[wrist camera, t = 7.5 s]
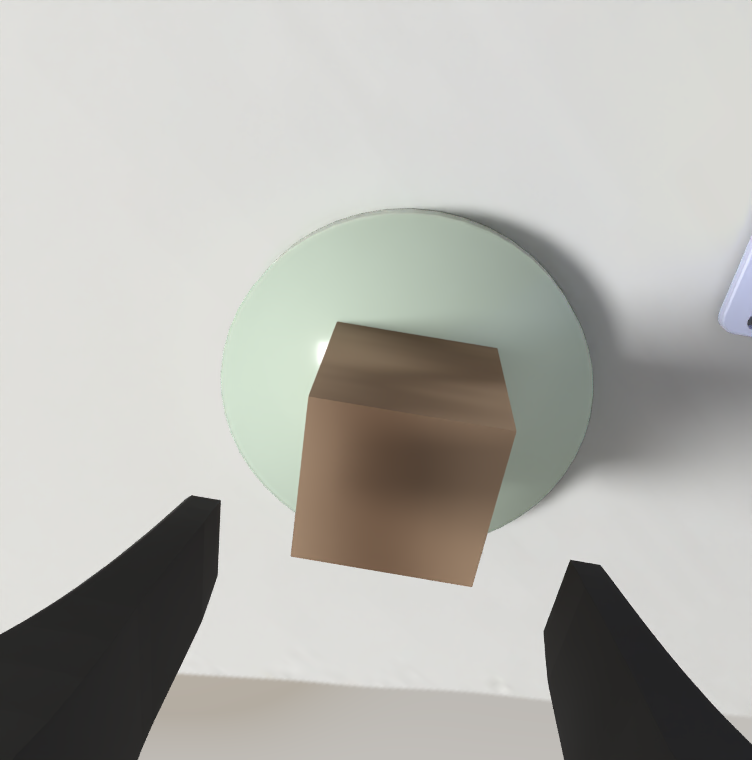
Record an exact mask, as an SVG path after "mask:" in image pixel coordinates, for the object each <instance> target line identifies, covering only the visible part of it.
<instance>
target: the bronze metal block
mask: <svg viewBox="0 0 752 760" xmlns="http://www.w3.org/2000/svg"><path fill="white" fill-rule="evenodd" d="M516 432H517V431H516V426H515V422H514V418H513V413H512V409H511V405H510V400H509V396H508V392H507V387H506V383H505V379H504V374H503V370H502V366H501V361H500V357H499V353H498V348H494V347H488V346H482V345H476V344H470V343H464V342H458V341H452V340H446V339H440V338H434V337H428V336H422V335H416V334H409V333H403V332H397V331H391V330H385V329H379V328H373V327H367V326H361V325H355V324H349V323H343V322H337V323H336V325H335V328H334V330H333V333H332V336H331V338H330V341H329V344H328V346H327V349H326V351H325V354H324V357H323V359H322V362H321V364H320V367H319V370H318V372H317V375H316V378H315V380H314V383H313V385H312V388H311V391H310V393H309V396H308V403H307V412H306V422H305V431H304V440H303V449H302V458H301V467H300V476H299V486H298V495H297V504H296V513H295V522H294V531H293V540H292V549H291V557H297V558H303V559H309V560H315V561H321V562H327V563H333V564H339V565H345V566H351V567H356V568H362V569H368V570H374V571H380V572H386V573H392V574H398V575H404V576H410V577H415V578H421V579H427V580H433V581H439V582H445V583H451V584H457V585H463V586H469V587H472V585H473V582H474V578H475V575H476V571H477V568H478V564H479V561H480V557H481V554H482V550H483V547H484V543H485V540H486V536H487V533H488V529H489V526H490V522H491V519H492V515H493V512H494V508H495V505H496V501H497V498H498V494H499V491H500V487H501V484H502V481H503V477H504V474H505V470H506V467H507V463H508V460H509V456H510V453H511V449H512V446H513V442H514V439H515V435H516Z"/></svg>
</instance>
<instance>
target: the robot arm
mask: <svg viewBox="0 0 752 760" xmlns="http://www.w3.org/2000/svg"><path fill="white" fill-rule="evenodd" d="M751 316H752V236H751V238H750V241H749V243H748V245H747V248H746V250H745V252H744V255H743V257H742V260H741V262H740V264H739V267H738V269H737V271H736V274H735V276H734V278H733V281H732V283H731V285H730V288H729V290H728V293H727V295H726V297H725V300H724V302H723V304H722V307H721V309H720V311H719V315H718V321H719V324H720V325H721V326H722V327H723V328H724V329H725V330H726V331H727V332H730V333H732V334H737V335H743V336H749V337H752V325H747V323H748V320H749V318H750V317H751ZM220 506H221V500H216V499H210V498H204V497H198V496H192V495H191V496H190V497H188V498H187V499H185V500H184V501H183V502H182V503H181V504H180V505H179V506H177V507H176V508H175V509H174V510H173V511H172V512H171V513H170V514H168V515H167V516H166V517H165V518H164V519H163V520H162V521H161V522H159V523H158V524H157V525H156V526H155V527H154V528H152V529H151V530H150V531H149V532H148V533H147V534H145V535H144V536H143V537H142V538H141V539H139V540H138V541H137V542H136V543H134V544H133V545H132V546H131V547H129V548H128V549H127V550H126V551H124V552H123V553H122V554H121V555H119V556H118V557H117V558H116V559H114V560H113V561H112V562H111V563H109V564H108V565H107V566H105V567H104V568H102V569H101V570H100V571H98V572H97V573H96V574H94V575H93V576H91V577H90V578H89V579H87V580H86V581H85V582H83V583H82V584H81V585H79V586H78V587H76V588H75V589H73V590H72V591H71V592H69V593H68V594H66V595H65V596H63V597H62V598H60V599H59V600H57V601H56V602H54V603H52V604H51V605H49V606H48V607H46V608H45V609H43V610H41V611H40V612H38V613H37V614H35V615H33V616H32V617H30V618H28V619H27V620H25V621H23V622H22V623H20V624H18V625H16V626H15V627H13V628H11V629H9V630H7V631H6V632H4V633H2V634H0V760H138V757H139V755H140V752H141V749H142V747H143V745H144V743H145V740H146V738H147V736H148V733H149V731H150V729H151V726H152V724H153V722H154V720H155V718H156V716H157V714H158V712H159V710H160V708H161V706H162V703H163V701H164V699H165V697H166V695H167V693H168V691H169V689H170V687H171V685H172V683H173V681H174V679H175V677H176V674H177V672H178V670H179V668H180V666H181V664H182V662H183V660H184V658H185V656H186V654H187V652H188V650H189V647H190V645H191V643H192V641H193V639H194V637H195V635H196V633H197V631H198V628H199V626H200V624H201V622H202V619H203V617H204V614H205V611H206V608H207V605H208V602H209V599H210V597H211V594H212V591H213V588H214V585H215V582H216V579H217V576H218V553H219V529H220ZM544 643H545V657H546V668H547V678H548V685H549V690H550V695H551V700H552V704H553V709H554V714H555V719H556V724H557V728H558V733H559V737H560V742H561V747H562V752H563V756H564V760H752V744H751V743H750V742H749V741H748V740H747V739H746V738H745V737H744V736H743V735H742V734H741V733H740V732H739V731H738V730H737V729H736V728H735V727H734V726H733V725H732V724H731V723H730V722H729V721H728V720H727V719H726V718H725V717H724V716H723V715H722V714H721V713H720V712H719V711H718V710H717V709H716V707H715V706H714V705H713V704H712V703H711V702H710V701H709V700H708V699H707V698H706V697H705V695H704V694H703V693H702V692H701V691H700V690H699V689H698V687H697V686H696V685H695V684H694V683H693V682H692V681H691V679H690V678H689V677H688V676H687V675H686V674H685V673H684V672H683V670H682V669H681V668H680V667H679V666H678V664H677V663H676V662H675V661H674V660H673V658H672V657H671V656H670V655H669V653H668V652H667V651H666V650H665V649H664V647H663V646H662V645H661V644H660V642H659V641H658V640H657V639H656V637H655V636H654V635H653V634H652V632H651V631H650V630H649V628H648V627H647V626H646V625H645V623H644V622H643V621H642V619H641V618H640V617H639V615H638V614H637V613H636V611H635V610H634V609H633V608H632V606H631V605H630V604H629V602H628V601H627V600H626V598H625V597H624V596H623V594H622V593H621V592H620V590H619V589H618V588H617V586H616V585H615V584H614V582H613V581H612V580H611V578H610V577H609V576H608V574H607V573H606V572H605V571H604V569H603V568H602V567H601V565H597V564H591V563H585V562H579V561H574V560H570V562H569V565H568V567H567V570H566V573H565V575H564V578H563V581H562V584H561V586H560V589H559V592H558V594H557V597H556V600H555V602H554V605H553V608H552V610H551V613H550V616H549V618H548V621H547V624H546V626H545V629H544Z"/></svg>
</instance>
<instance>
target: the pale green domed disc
mask: <svg viewBox="0 0 752 760" xmlns="http://www.w3.org/2000/svg"><path fill="white" fill-rule="evenodd" d="M337 322H343V323H349V324H355V325H361V326H367V327H373V328H379V329H385V330H391V331H397V332H403V333H409V334H416V335H422V336H428V337H434V338H440V339H446V340H452V341H458V342H464V343H470V344H476V345H482V346H488V347H494V348H498V353H499V357H500V361H501V366H502V370H503V374H504V379H505V383H506V387H507V392H508V396H509V400H510V405H511V409H512V413H513V418H514V422H515V426H516V431H517V432H516V435H515V439H514V442H513V446H512V449H511V453H510V456H509V460H508V463H507V467H506V470H505V474H504V477H503V481H502V484H501V487H500V491H499V494H498V498H497V501H496V505H495V508H494V512H493V515H492V519H491V522H490V526H489V529H488V533H489V532H491V531H494V530H496V529H498V528H501V527H502V526H504V525H506V524H508V523H509V522H511V521H513V520H515V519H517V518H518V517H520V516H521V515H522V514H524V513H525V512H527V511H528V510H529V509H531V508H532V507H533V506H535V505H536V504H537V503H538V502H539V501H540V500H541V499H542V498H544V497H545V496H546V495H547V494H548V493H549V492H550V491H551V490H552V489H553V488H554V486H555V485H556V484H557V483H558V481H559V480H560V479H561V478H562V477H563V475H564V474H565V473H566V471H567V469H568V468H569V466H570V465H571V463H572V461H573V460H574V458H575V456H576V455H577V452H578V450H579V448H580V446H581V443H582V441H583V439H584V436H585V433H586V430H587V426H588V422H589V419H590V415H591V408H592V399H593V370H592V364H591V359H590V354H589V348H588V345H587V342H586V339H585V337H584V334H583V331H582V328H581V325H580V323H579V321H578V320H577V318H576V316H575V314H574V312H573V310H572V308H571V306H570V305H569V303H568V301H567V299H566V298H565V296H564V294H563V292H562V291H561V289H560V288H559V287H558V285H557V284H556V283H555V281H554V280H553V279H552V277H551V276H550V275H549V273H548V272H547V271H546V270H545V269H544V268H543V267H542V266H541V265H540V264H539V263H538V262H537V261H536V260H535V259H534V258H533V257H532V256H531V255H530V254H529V253H528V252H526V251H525V250H524V249H522V248H521V247H520V246H518V245H517V244H516V243H514V242H513V241H512V240H511V239H509V238H507V237H505V236H503V235H502V234H500V233H498V232H496V231H494V230H493V229H491V228H489V227H487V226H484V225H482V224H479V223H477V222H474V221H472V220H469V219H466V218H464V217H460V216H456V215H452V214H447V213H443V212H439V211H430V210H421V209H385V210H379V211H373V212H367V213H361V214H358V215H354V216H351V217H348V218H345V219H341V220H338V221H335V222H333V223H331V224H329V225H327V226H325V227H322V228H320V229H318V230H316V231H314V232H312V233H311V234H309V235H308V236H306V237H304V238H303V239H301V240H300V241H298V242H297V243H295V244H294V245H292V246H291V247H290V248H289V249H288V250H287V251H285V252H284V253H283V254H282V255H281V256H280V257H279V258H277V259H276V260H275V261H274V262H273V264H272V265H271V266H270V267H269V268H268V269H267V271H266V272H265V273H264V274H263V275H262V276H261V278H260V279H259V280H258V281H257V282H256V284H255V285H254V286H253V287H252V288H251V290H250V291H249V293H248V294H247V296H246V298H245V299H244V301H243V302H242V304H241V305H240V307H239V309H238V311H237V313H236V315H235V318H234V320H233V322H232V324H231V327H230V329H229V332H228V336H227V340H226V343H225V347H224V350H223V359H222V367H221V394H222V399H223V405H224V411H225V416H226V419H227V422H228V425H229V428H230V431H231V434H232V437H233V439H234V441H235V443H236V445H237V447H238V449H239V451H240V453H241V455H242V456H243V458H244V460H245V461H246V463H247V464H248V466H249V467H250V469H251V471H252V472H253V473H254V474H255V475H256V477H257V478H258V479H259V480H260V481H261V483H262V484H263V485H264V486H265V487H266V488H267V489H268V490H269V491H270V492H271V493H272V494H273V495H274V496H275V497H276V498H277V499H278V500H279V501H281V502H282V503H283V504H285V505H286V506H287V507H288V508H290V509H291V510H292V511H294V512H295V513H296V504H297V495H298V486H299V476H300V467H301V458H302V449H303V440H304V431H305V422H306V412H307V403H308V396H309V393H310V391H311V388H312V385H313V383H314V380H315V378H316V375H317V372H318V370H319V367H320V364H321V362H322V359H323V357H324V354H325V351H326V349H327V346H328V344H329V341H330V338H331V336H332V333H333V330H334V328H335V325H336V323H337Z"/></svg>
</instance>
